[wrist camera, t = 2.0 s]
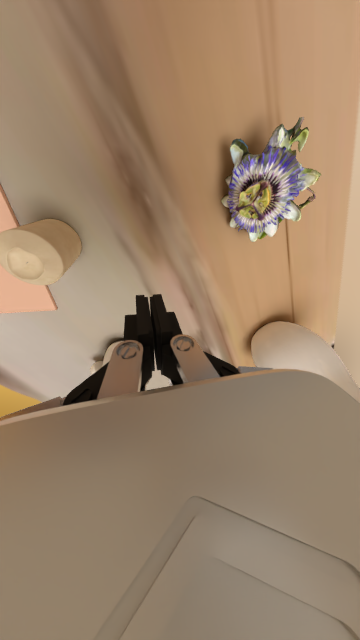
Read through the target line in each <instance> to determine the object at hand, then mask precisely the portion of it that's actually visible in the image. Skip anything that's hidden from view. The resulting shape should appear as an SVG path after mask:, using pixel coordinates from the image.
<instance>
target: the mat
mask: <svg viewBox="0 0 360 640" xmlns="http://www.w3.org/2000/svg"><path fill="white" fill-rule="evenodd" d="M16 227H19V223H18V221H17V219H16V217H15V215H14V213H13V210H12V208H11V206H10V204H9V202H8V200H7V197H6V195H5V193H4V191H3V189H2V187H1V184H0V233H1V232H3V231H6V230H9V229H12V228H16ZM48 310H57V306H56V304H55V301H54V299H53V297H52V295H51V293H50V291H49V288H48V286H47V285H34V284H30V283H27V282H24V281H22V280H20V279H18V278H16V277H14V276H13V275H11V274H10V273H9V272H7V271H6V270H5V269H4V268H3V267H2V265H1V264H0V313H14V312H31V311H48Z"/></svg>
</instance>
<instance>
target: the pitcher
mask: <svg viewBox="0 0 360 640" xmlns="http://www.w3.org/2000/svg"><path fill="white" fill-rule="evenodd" d="M251 351H252V357H253V361H254V363H255V366H256V367H261V368H273V369H297V370H303V371H308V372H312V373H316V374H319V375H321V376H324V377H326V378H328V379H329V380H331V381H332V382H334V383H335V384H337V385H338V386H339V387H340V388H342V389H343V390H344V391H346V392H347V393H348V394H349V395H350V396H352V397H353V398H354V399H355V400H356V401H358V402H359V403H360V388H359V387H358V385H357V384H356V383H355V381H354V380H353V378H352V376H351V375H350V373H349V372H348V370H347V368H346V366H345V365H344V363H343V362H342V360H341V359H340V357H339V356H338V354H337V353H336V352H335V351H334V349H333V348H332V347H331V346H330V345H329V344H328V343H327V342H326V341H325V340H324V339H322V338H321V337H320V336H319V335H317V334H316V333H314V332H313V331H311V330H309V329H307V328H305V327H303V326H300V325H298V324H294V323H290V322H283V321H276V322H271V323H268V324H266V325H265V326H263V327H261V328H260V329H259V330H258V331H257V332H256V333H255V334H254V336H253V338H252V341H251Z"/></svg>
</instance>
